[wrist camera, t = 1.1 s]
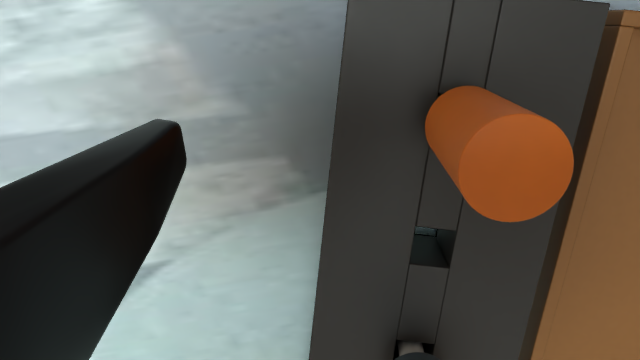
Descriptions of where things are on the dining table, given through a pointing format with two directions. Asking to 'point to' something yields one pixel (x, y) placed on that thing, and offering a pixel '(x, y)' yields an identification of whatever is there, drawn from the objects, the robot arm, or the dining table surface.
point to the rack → (437, 175)
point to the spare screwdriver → (413, 351)
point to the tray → (597, 219)
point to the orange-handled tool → (499, 153)
